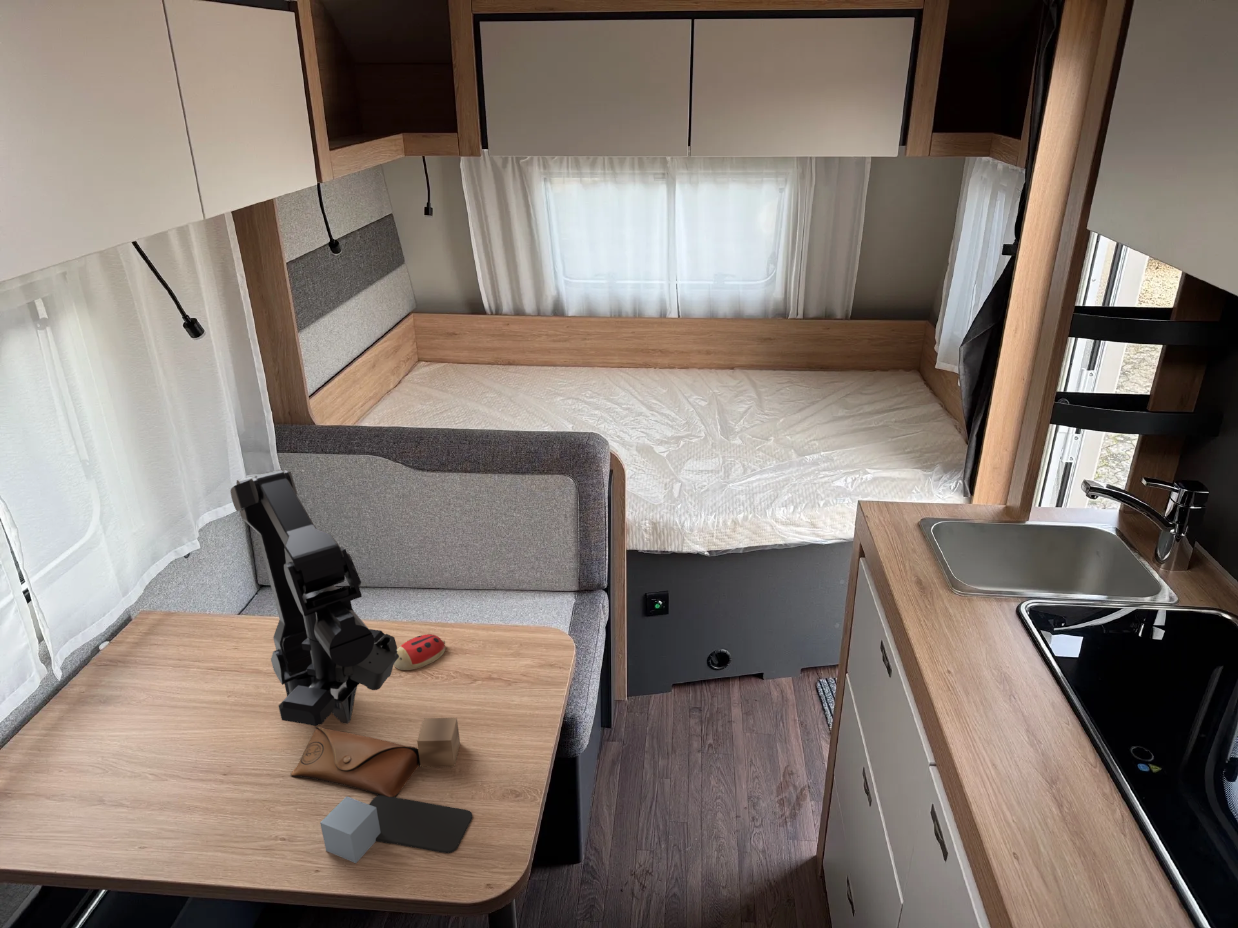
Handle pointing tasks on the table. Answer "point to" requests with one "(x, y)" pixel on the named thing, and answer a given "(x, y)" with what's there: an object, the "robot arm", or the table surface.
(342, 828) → the slate block
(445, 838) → the phone
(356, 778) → the sunglasses case
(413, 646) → the ladybug figurine
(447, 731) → the walnut block
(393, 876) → the table surface
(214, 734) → the table surface
